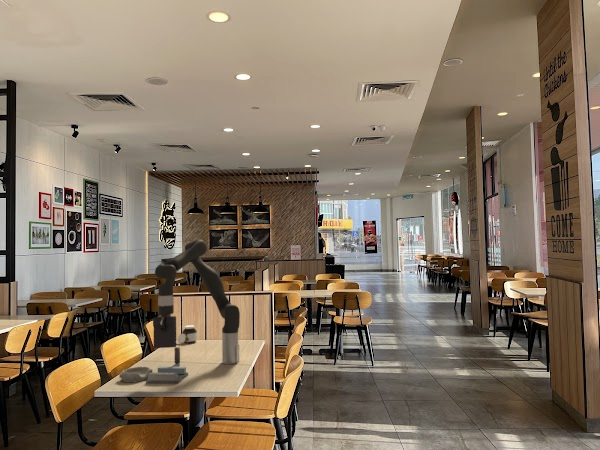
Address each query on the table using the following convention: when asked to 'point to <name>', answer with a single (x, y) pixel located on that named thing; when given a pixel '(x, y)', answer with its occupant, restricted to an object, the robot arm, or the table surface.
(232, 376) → the table surface
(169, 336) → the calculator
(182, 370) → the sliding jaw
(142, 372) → the dish
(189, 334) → the spread jar
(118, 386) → the table surface
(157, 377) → the vise
